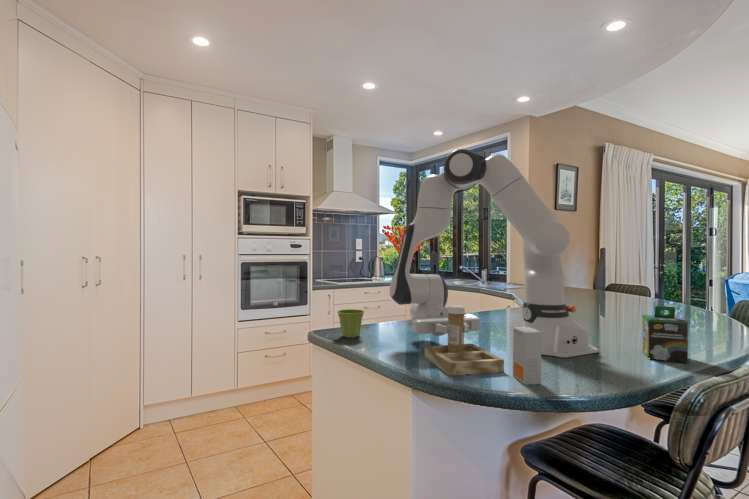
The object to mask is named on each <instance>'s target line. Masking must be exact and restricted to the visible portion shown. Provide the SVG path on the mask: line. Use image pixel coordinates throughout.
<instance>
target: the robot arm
mask: <svg viewBox="0 0 749 499" xmlns="http://www.w3.org/2000/svg"><path fill="white" fill-rule="evenodd" d="M477 184H478V185H481V186H482V187H483V188H484V189H485V190H486V191H487V192H488V194H489V195H490V197H491V198H492V200H493V201H494V203H495V205H496V206H497V207H498V208H499V210H500V212H501V213H502V214H503V215H504V217H505V218H506V220H507V221H508V222H509V223H510V224H511V226H512V227H513V228H514V229H515V231H517V232H518V234H519V235H520V237H521V238H522V254H523V270H524V301H523V302H522V318H523V325H522V327H530V328H533V329H536V330H537V331H540V332H541V356H542V355H543V356H552V357H553V356H554V357H558V358H562V359H563V358H564V359H565V358H572V357H579V356H584V355H590V354H597V353H599V350H598V348H597V347H596V346H594V345H592V344H590V339H589V334H588V332H587V330H586V329H585V328H584V327H583V326H582V325H580V324H579V323H578V322H576V321H575V320H574V319H573V318H571V317H570V313H574V314H575V313H576V311H578V310H577V307H576V305H571V304H569V305H566V303H565V275H564V271H563V263H562V255H561V254H563V253H565V252H566V250H567V248H568V247H569V245H570V244H569V243H570V239H571V237H570V233H569V230H568V228H566V226H565V225H564V224H563V223H562V222H561V220H560V219H559V218H558V217H557V216H556V214H554V213H553V212H552V210H551V209H550V207H548V206H547V205H546V204H545V203H544V202H543V201H542V200H541V198H540V197H539V195H537V193H536V192H535V191H534V189H533V187H531V185H530V184H529V182H528V180H526V178H525V177H524V175H523V173H521V171H520V170H519V168H517V166H516V165H515V164H514V163H513V162H512V161H511V160H510V159H509V158H508V157H506V156H505V155H503V154H500V153H497V154H493V155H490V156H488V157H487V158H485V157H484V156H482V155H481V154H478V153H476V152H474V151H471V150H469V149H465V148H459V149H456V150H453V151H452V152H450V153H449V155H447V157H446V158H445V160H444V164H443V171H442V172H441V173H439V174H430V175H428V176H426V177H424V178H423V179H422V181H421V184H420V188H419V192H418V197H417V206H416V213H415V216H414V218H413V221H412V222H411V223H409V224H407V225H406V227H405V229H404V232H403V235H402V238H401V241H400V247H399V251H398V254H397V259H396V264H395V268H394V271H393V273H392V274H393V275H392V278H391V280H390V284H389V295H390V298H391V299H392V300H393V301H394V303H396V304H398V305H400V306H402V305H411V306H410V308H409V316H410V318H411V319H410V320H408V321H406V325H408V326H410V327H411V330H412V331H413V332H414V333H415V334H418V335H419V334H420V335H422V334H423V335H424V334H426V335H427V334H431V335H433V336H437V337H438V336H439V337H440V336H444V335H446V334H447V335H448V333H450V327H449V326H448V307H446V305H447V302H448V299H449V289H448V284H447V283H446V281H445V280H444V278H443V277H442V276H441V275H440V274H431V273H428V274H427V273H410V271H411V267H412V262H413V258H414V253H415V250H416V248H417V246H418V245H419V244H420V243H423V242H425V241H426V240H430V239H434V238H436V237H439V236H441V235H442V234H443V233H445V231H447V229H448V228H449V226H450V223H451V219H452V205H453V204H452V202H453V196H454V194H458V193H461V192H465V191H466V192H467V191H469V190H470V189H472V188H474V187H475V186H476V185H477ZM569 312H570V313H569ZM481 324H482V323H481V318H480V317H478V316H477V315H475V314H472V313H470V312H465V313H464V333H469V332H479V331H480V330H481Z"/></svg>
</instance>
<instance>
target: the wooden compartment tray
mask: <svg viewBox="0 0 749 499" xmlns="http://www.w3.org/2000/svg"><path fill="white" fill-rule="evenodd" d="M463 346H464V348H463V352H454V353H447V352H448V344H443V345H441V344H440V345H427V346H426V345H425V346H424V358H426V359H427V360H428V361H429V362H431V363H432V364H433V365H434V366H436V367H437V368H438V369H440V370H441V369H442V370H441V371H442V372H444V373H445V372H446V373H447V374H446V373H445V374H446V375H448V376H450V377H452V376H453V377H454V376H455V375H457V376H467V375H466V374H469V375H479V374H480V375H481V374H495V373H503V372H505V359H503V358H502V357H499V356H497V355H495V354H494V353H491V352H489V351H487V350H486V349H484V348H481V347H479V346H478V345H476V344H474V343H464V345H463Z"/></svg>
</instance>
